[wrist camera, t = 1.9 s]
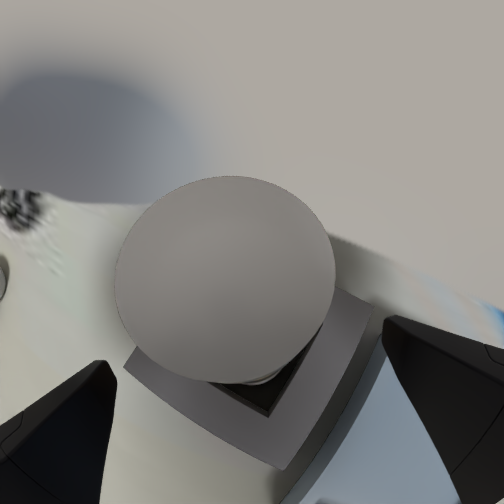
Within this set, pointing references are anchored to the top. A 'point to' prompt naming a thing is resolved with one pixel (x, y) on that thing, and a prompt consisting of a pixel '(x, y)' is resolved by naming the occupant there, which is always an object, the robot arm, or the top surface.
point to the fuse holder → (287, 402)
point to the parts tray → (376, 450)
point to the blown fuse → (225, 280)
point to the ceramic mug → (2, 282)
